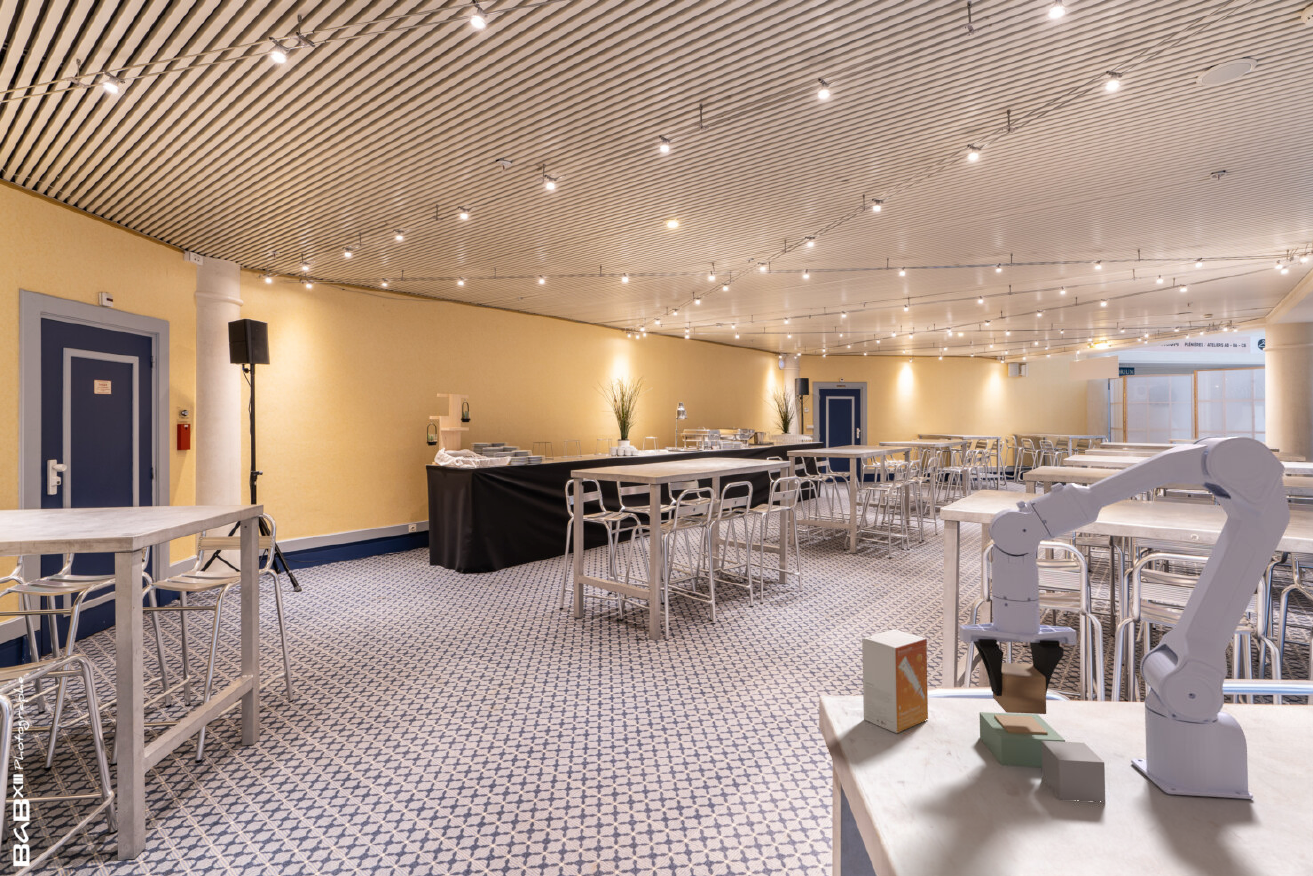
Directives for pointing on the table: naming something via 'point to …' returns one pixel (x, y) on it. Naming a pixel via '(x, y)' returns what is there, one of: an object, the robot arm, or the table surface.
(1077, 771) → the grey cube
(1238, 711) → the table surface
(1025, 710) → the walnut cube
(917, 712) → the small box
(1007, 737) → the green block
